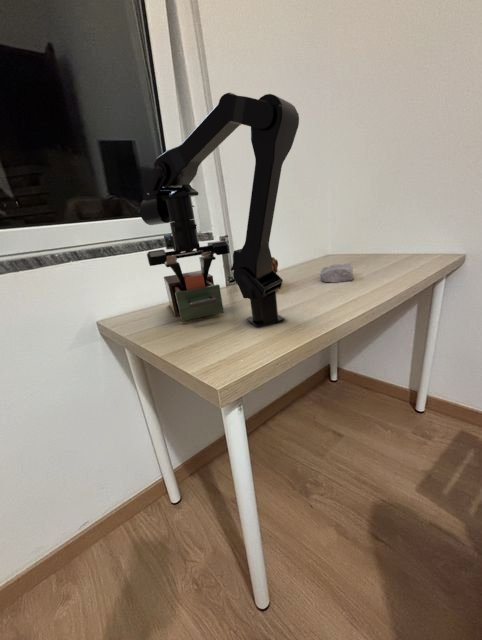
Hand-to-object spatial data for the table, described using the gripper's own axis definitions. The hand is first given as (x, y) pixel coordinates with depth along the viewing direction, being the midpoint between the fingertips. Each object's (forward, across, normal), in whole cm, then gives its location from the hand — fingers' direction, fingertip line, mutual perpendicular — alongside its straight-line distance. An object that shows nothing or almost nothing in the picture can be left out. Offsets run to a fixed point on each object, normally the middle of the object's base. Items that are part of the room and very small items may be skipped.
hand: (195, 289), depth 76 cm
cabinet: (+7, 0, -11) cm, 13 cm away
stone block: (+7, -47, -10) cm, 48 cm away
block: (+1, 0, 0) cm, 1 cm away
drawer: (+6, 0, +1) cm, 6 cm away
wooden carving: (+7, -27, -15) cm, 32 cm away
